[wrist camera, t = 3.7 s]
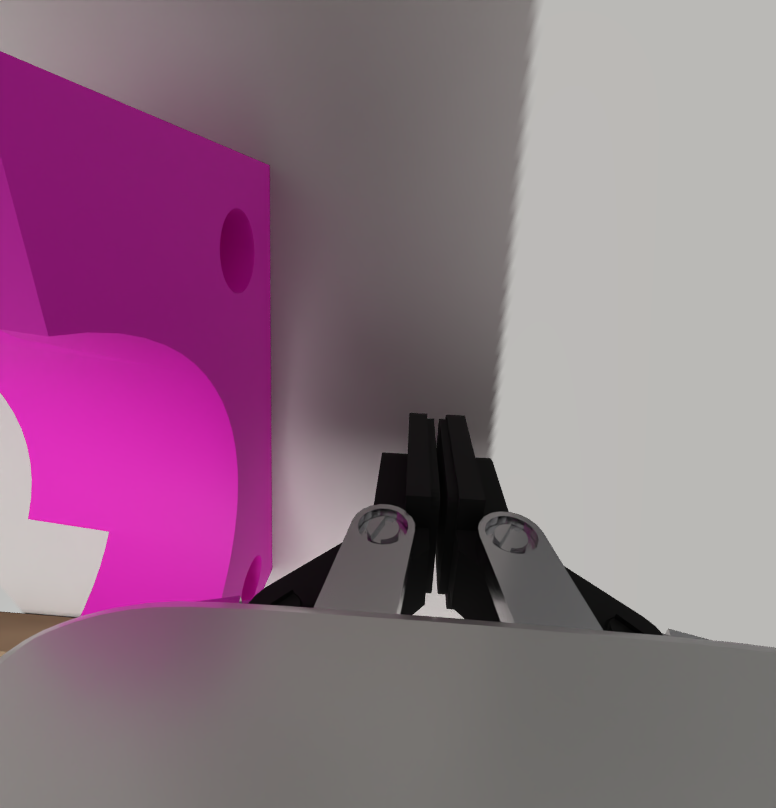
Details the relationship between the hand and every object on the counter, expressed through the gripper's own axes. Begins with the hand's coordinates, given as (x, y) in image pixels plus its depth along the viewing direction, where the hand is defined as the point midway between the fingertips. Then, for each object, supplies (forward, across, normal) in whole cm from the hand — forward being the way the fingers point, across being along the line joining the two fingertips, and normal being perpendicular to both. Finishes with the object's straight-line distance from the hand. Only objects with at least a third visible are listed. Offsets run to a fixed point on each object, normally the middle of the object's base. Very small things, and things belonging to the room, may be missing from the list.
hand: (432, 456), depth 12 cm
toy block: (+2, +9, -1) cm, 9 cm away
